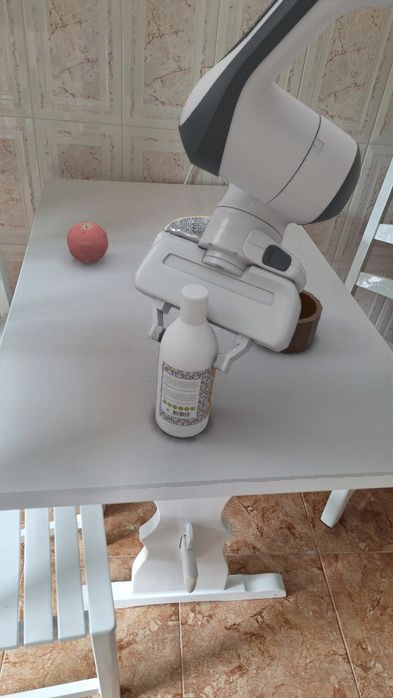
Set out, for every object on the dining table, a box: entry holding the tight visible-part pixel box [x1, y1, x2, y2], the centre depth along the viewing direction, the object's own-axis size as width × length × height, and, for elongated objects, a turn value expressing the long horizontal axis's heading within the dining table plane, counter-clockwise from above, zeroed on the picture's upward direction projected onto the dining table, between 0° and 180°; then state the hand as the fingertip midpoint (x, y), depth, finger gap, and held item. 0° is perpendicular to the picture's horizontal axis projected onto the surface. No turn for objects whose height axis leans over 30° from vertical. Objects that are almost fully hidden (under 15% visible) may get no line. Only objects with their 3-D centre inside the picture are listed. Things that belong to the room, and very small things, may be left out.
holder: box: [262, 288, 324, 354], centre depth 79 cm, size 11×11×6 cm
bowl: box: [163, 215, 211, 236], centre depth 92 cm, size 16×16×8 cm
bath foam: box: [155, 284, 220, 438], centre depth 58 cm, size 7×7×20 cm
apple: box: [66, 220, 109, 265], centre depth 91 cm, size 7×7×8 cm
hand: (186, 355), depth 57 cm, fingers open, 8 cm apart
